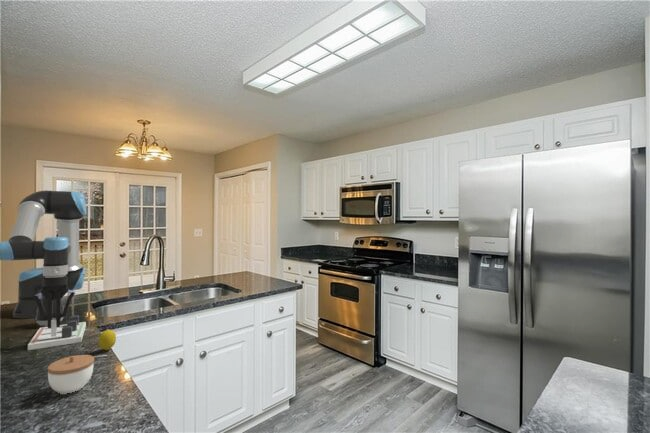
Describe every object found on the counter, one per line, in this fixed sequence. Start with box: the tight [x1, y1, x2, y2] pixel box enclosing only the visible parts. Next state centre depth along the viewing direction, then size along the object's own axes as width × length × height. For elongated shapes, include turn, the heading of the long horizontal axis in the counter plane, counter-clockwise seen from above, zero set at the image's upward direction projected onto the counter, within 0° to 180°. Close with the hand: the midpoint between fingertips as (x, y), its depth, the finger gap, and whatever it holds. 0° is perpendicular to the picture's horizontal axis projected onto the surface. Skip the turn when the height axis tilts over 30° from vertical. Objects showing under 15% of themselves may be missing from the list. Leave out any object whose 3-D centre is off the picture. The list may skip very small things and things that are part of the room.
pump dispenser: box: [34, 296, 65, 327], centre depth 147 cm, size 10×10×15 cm
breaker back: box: [69, 314, 80, 325], centre depth 142 cm, size 3×3×4 cm
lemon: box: [98, 328, 117, 351], centre depth 120 cm, size 6×6×8 cm
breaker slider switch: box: [62, 326, 72, 338], centre depth 128 cm, size 3×3×4 cm
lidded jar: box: [47, 354, 95, 395], centre depth 93 cm, size 11×11×9 cm
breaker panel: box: [27, 321, 87, 351], centre depth 133 cm, size 22×16×2 cm
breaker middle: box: [66, 320, 77, 331], centre depth 135 cm, size 3×3×4 cm
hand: (53, 335), depth 126 cm, fingers closed
